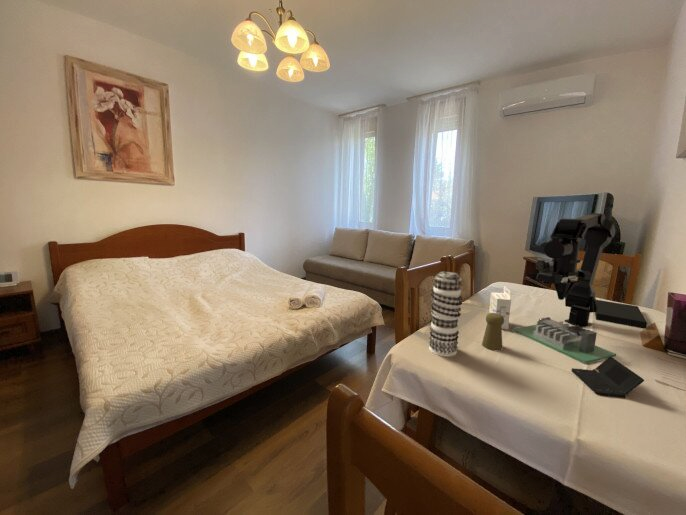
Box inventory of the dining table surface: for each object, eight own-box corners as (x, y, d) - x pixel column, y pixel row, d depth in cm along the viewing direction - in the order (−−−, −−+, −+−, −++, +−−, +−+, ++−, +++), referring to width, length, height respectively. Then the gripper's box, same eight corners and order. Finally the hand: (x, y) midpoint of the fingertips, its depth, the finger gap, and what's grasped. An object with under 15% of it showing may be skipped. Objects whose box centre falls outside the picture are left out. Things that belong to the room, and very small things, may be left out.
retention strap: (547, 319, 103) (548, 315, 103) (586, 334, 91) (587, 329, 91) (538, 320, 102) (539, 316, 101) (576, 336, 90) (577, 331, 90)
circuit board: (540, 325, 110) (541, 323, 110) (616, 356, 88) (616, 353, 88) (513, 330, 106) (513, 328, 106) (584, 364, 84) (585, 361, 84)
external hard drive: (595, 320, 117) (596, 313, 116) (593, 305, 135) (594, 299, 134) (645, 330, 108) (647, 322, 108) (636, 312, 126) (638, 306, 125)
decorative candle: (421, 346, 94) (425, 271, 90) (443, 341, 98) (448, 269, 93) (441, 359, 86) (447, 278, 81) (464, 353, 89) (471, 275, 85)
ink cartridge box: (487, 319, 116) (491, 284, 113) (500, 321, 115) (504, 285, 112) (494, 328, 108) (497, 290, 105) (508, 329, 107) (512, 291, 104)
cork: (500, 343, 96) (504, 312, 94) (504, 352, 90) (507, 318, 88) (480, 340, 98) (483, 309, 96) (483, 348, 92) (486, 316, 90)
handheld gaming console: (564, 365, 80) (594, 341, 77) (581, 379, 81) (611, 356, 79) (597, 398, 69) (634, 371, 66) (616, 412, 70) (653, 387, 68)
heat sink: (552, 329, 105) (554, 313, 104) (602, 349, 91) (605, 331, 90) (527, 333, 102) (529, 317, 100) (575, 355, 87) (578, 336, 86)
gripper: (561, 250, 109) (556, 290, 111) (525, 253, 103) (520, 295, 105) (595, 255, 98) (588, 299, 101) (556, 258, 92) (550, 305, 95)
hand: (560, 299), depth 101 cm, fingers closed
